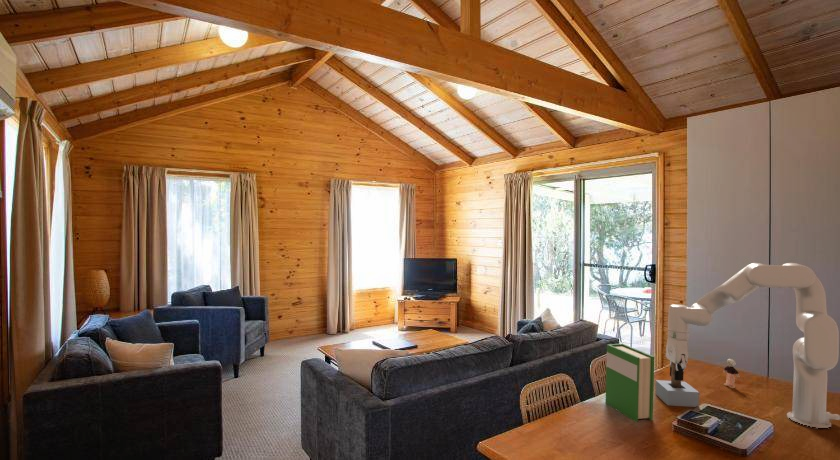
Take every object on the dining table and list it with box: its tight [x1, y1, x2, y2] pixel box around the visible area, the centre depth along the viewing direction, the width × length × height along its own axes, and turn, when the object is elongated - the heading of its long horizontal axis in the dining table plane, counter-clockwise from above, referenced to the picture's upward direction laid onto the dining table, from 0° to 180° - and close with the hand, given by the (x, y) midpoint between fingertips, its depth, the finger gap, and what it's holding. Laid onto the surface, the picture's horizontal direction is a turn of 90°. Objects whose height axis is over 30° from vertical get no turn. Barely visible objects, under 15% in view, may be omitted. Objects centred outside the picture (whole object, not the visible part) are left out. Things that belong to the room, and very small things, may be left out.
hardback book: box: [605, 343, 655, 423], centre depth 175 cm, size 18×7×24 cm, turn 13°
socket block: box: [654, 379, 700, 408], centre depth 186 cm, size 12×12×6 cm
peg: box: [670, 362, 681, 388], centre depth 186 cm, size 4×4×12 cm
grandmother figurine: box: [722, 358, 740, 389], centre depth 202 cm, size 8×4×13 cm, turn 25°
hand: (676, 377), depth 186 cm, fingers closed on peg, 3 cm apart
